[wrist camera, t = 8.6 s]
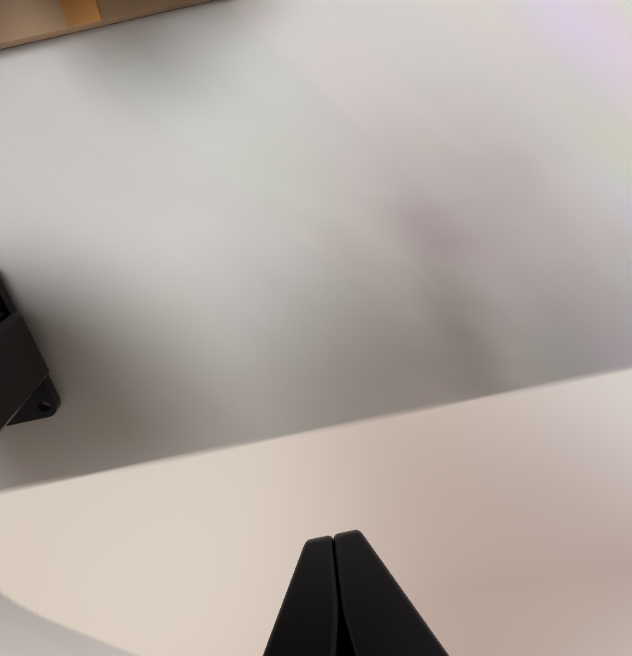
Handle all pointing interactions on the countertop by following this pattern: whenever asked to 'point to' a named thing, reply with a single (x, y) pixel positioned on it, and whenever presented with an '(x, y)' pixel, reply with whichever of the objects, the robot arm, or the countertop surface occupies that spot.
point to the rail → (71, 16)
